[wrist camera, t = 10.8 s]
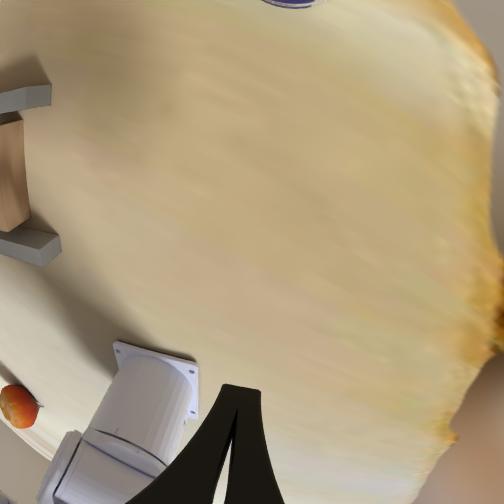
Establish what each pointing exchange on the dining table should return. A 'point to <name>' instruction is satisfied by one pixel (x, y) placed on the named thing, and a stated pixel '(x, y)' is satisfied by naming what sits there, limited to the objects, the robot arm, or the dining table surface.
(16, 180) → the t block
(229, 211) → the dining table surface
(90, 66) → the dining table surface
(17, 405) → the fruit
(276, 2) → the energy drink
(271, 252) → the dining table surface
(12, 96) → the dock
